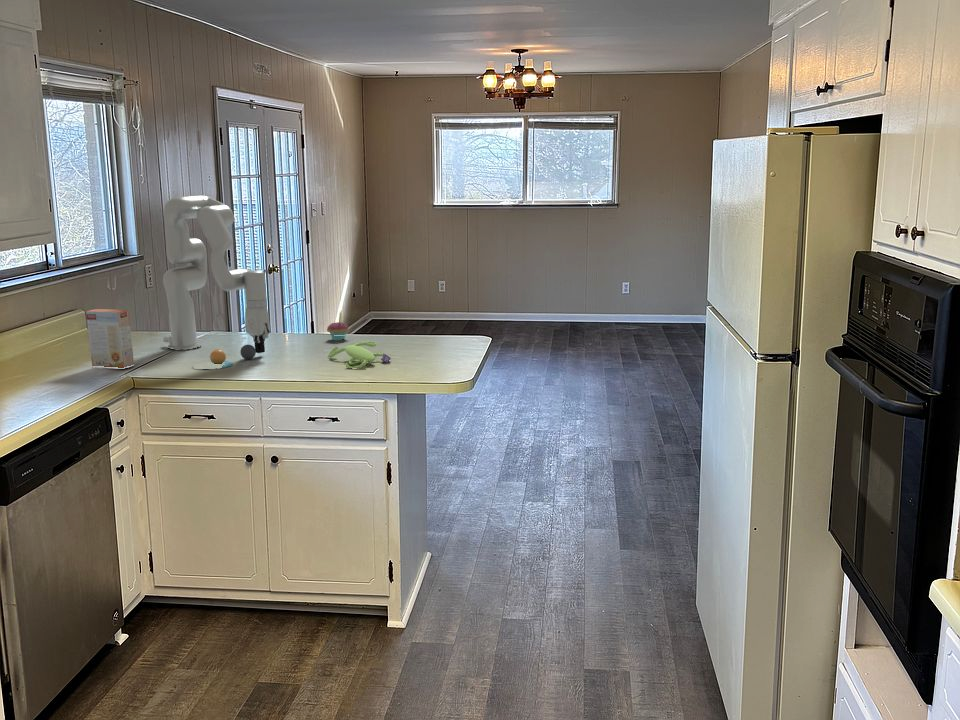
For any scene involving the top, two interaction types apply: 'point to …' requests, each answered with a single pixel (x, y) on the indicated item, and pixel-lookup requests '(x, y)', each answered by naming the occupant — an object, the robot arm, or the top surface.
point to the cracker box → (110, 338)
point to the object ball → (217, 356)
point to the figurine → (359, 354)
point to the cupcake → (337, 329)
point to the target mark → (227, 364)
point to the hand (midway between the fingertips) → (260, 352)
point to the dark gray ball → (248, 351)
